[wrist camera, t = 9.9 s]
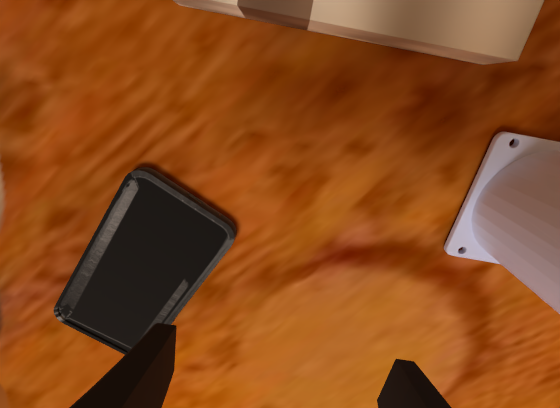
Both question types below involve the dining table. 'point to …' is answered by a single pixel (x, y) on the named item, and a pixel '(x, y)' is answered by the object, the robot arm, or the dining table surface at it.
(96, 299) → the phone
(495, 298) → the dining table surface
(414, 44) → the board
